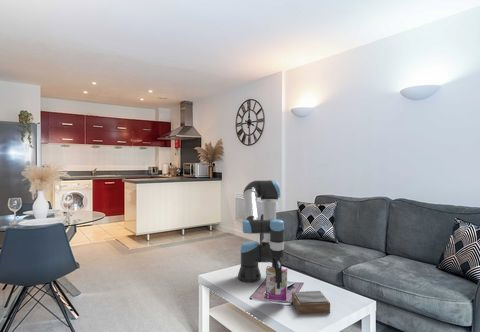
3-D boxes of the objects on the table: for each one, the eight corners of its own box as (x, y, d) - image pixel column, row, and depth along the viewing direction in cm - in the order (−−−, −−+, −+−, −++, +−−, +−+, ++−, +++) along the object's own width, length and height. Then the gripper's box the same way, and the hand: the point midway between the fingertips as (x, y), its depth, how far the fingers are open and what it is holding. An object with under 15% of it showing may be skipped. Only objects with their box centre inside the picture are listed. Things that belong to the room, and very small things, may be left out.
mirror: (291, 301, 164) (291, 291, 164) (320, 300, 166) (320, 290, 166) (299, 314, 150) (299, 303, 150) (330, 312, 152) (330, 302, 152)
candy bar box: (265, 299, 160) (265, 268, 160) (266, 295, 165) (266, 265, 165) (286, 301, 158) (286, 270, 157) (287, 297, 163) (287, 267, 162)
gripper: (266, 244, 170) (266, 284, 170) (273, 254, 151) (273, 299, 151) (279, 243, 171) (279, 283, 171) (288, 254, 152) (287, 299, 152)
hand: (276, 291), depth 161 cm, fingers closed on candy bar box, 6 cm apart
